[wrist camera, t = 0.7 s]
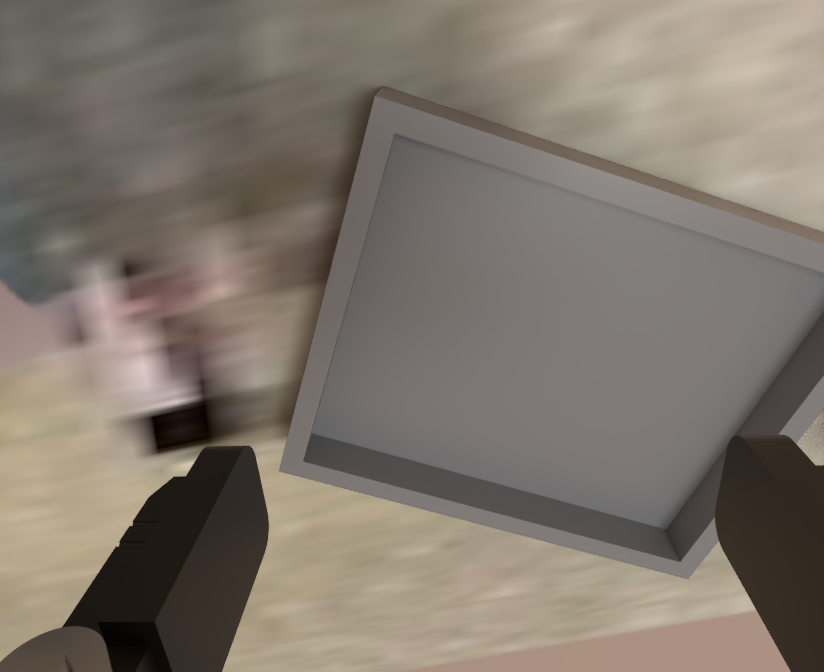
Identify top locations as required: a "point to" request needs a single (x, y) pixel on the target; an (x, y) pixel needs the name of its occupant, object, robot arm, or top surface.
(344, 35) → the top surface
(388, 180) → the tray
